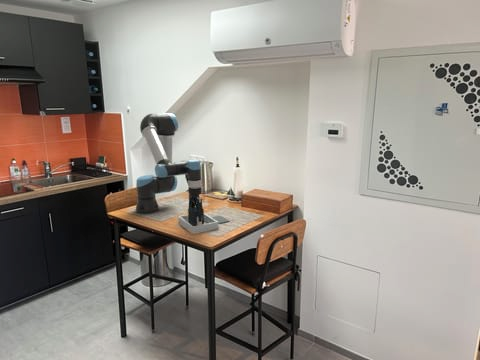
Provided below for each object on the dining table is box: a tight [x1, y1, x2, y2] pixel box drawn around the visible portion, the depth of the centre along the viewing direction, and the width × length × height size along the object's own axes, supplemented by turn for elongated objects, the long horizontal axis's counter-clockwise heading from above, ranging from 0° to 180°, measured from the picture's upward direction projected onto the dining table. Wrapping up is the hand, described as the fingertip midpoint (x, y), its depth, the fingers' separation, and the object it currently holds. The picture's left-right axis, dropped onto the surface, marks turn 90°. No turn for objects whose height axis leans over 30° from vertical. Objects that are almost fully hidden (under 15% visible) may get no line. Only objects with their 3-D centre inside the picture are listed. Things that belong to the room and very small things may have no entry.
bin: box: [177, 212, 220, 235], centre depth 203 cm, size 22×16×4 cm
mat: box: [210, 214, 230, 225], centre depth 212 cm, size 12×10×1 cm
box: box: [187, 206, 205, 226], centre depth 202 cm, size 8×6×11 cm
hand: (196, 224), depth 203 cm, fingers closed on box, 9 cm apart
